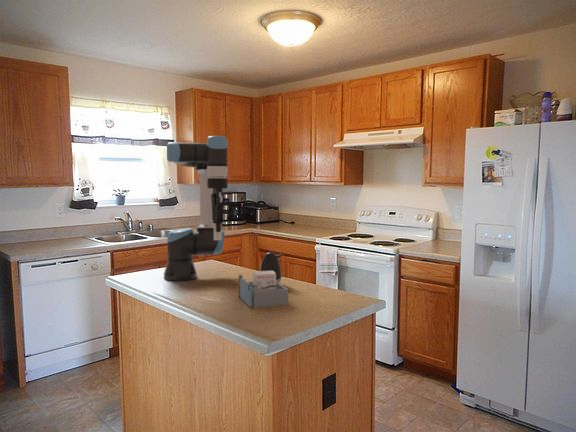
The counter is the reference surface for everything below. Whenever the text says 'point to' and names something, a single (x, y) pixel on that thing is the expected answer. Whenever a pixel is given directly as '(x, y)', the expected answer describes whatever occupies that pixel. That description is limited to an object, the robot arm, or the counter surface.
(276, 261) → the pump dispenser
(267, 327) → the counter surface
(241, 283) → the blue-grey flat plate
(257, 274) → the ink box
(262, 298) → the grey open box
